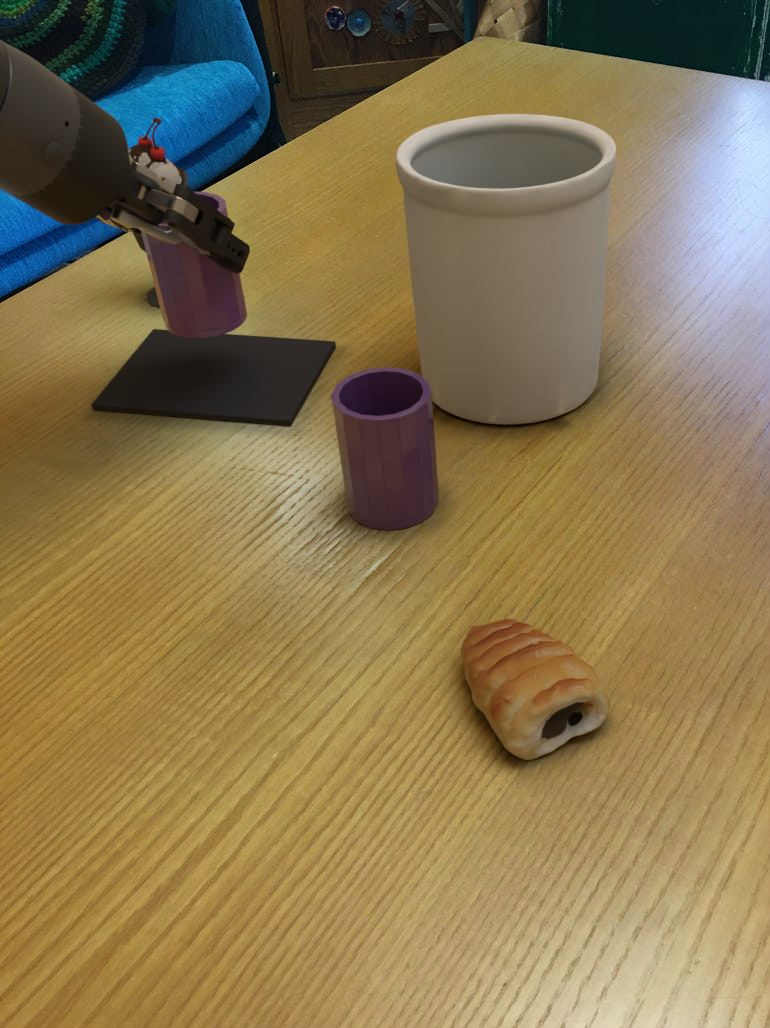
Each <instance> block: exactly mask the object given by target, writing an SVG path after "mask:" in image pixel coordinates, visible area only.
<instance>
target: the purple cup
mask: <svg viewBox="0 0 770 1028" xmlns="http://www.w3.org/2000/svg"><path fill="white" fill-rule="evenodd" d="M194 192H195V193H196V194H197V195H199V196H200V197H201V198H203V199H204V200H205V201H207V202H208V203H209V204H210V205H212V206H213V207H214V208H216V209H217V210H218V211H220V212H221V213H222V214H223V215H225V216H226V217H228V218H230V215H229V211H228V206H227V201H226V199H224V198H223V197H221V196H220V195H218V194H215V193H211V192H208V191H194ZM157 227H158V228H159V229H161V230H163V231H166V230H167V228H168V225H167V223H165V222H164V221H162V222H161V223H160V224H159V225H158V226H157ZM141 234H142V238H143V242H144V246H145V249H146V252H145V253H146V257H147V262H148V266H149V269H150V274H151V278H152V281H153V285H154V287H155V289H156V293H157V297H158V301H159V305H160V307H159V308H160V313H161V317H162V320H163V322H164V326H165V328H166V330H168V331H169V332H170V333H172V334H174V335H176V336H179V337H183V338H191V339H202V338H210V337H215V336H220V335H223V334H229V333H230V332H233V331H235V330H236V329H238V328H239V327H241V325H243V324H244V323H245V322H246V320H247V318H248V312H247V311H248V310H247V306H246V299H245V294H244V288H243V283H242V279H241V273H239V274H238V273H234V272H231V271H229V270H227V269H226V268H224V267H223V266H221V265H220V264H218V263H217V262H215V261H213V260H212V259H210V258H209V257H207V256H206V255H204V256H203V255H201V254H199V253H197V252H198V251H196V250H194V249H192V248H190V247H188V246H186V245H184V244H182V243H180V242H179V243H178V244H167V243H165V242H163V241H161V240H159V239H157V238H155V237H153V236H151V235H149V234H147V233H145V232H143V231H141Z"/></svg>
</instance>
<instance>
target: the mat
mask: <svg viewBox="0 0 770 1028" xmlns="http://www.w3.org/2000/svg"><path fill="white" fill-rule="evenodd" d="M336 347H337V345H336V341H333V340H320V339H305V338H304V339H303V338H291V337H275V336H261V335H247V334H232V333H226V334H223V335H220V336H215V337H210V338H202V339H191V338H183V337H179V336H176V335H174V334H172V333H170V332H169V331H168V330H167V329H161V328H160V329H159V328H153V329H152V330H151V331H150V332H149V334H148V335H147V336H146V337H145V338H144V340H143V341H142V342H141V343H140V344H139V346H137V348H136V349H135V351H133V353H132V354H131V356H129V358H128V359H127V360H126V362H125V363H123V365H122V367H121V368H120V369H119V370H118V371H117V373H116V374H115V375H114V376H113V377H112V378H111V380H110V381H109V382H108V383H107V385H106V386H105V387H104V389H102V391H101V392H100V393H99V394H98V395H97V397H96V398H95V399H94V400H93V401H92V402H91V404H90V406H91V408H92V410H93V411H103V412H114V413H127V414H138V415H152V416H163V417H165V416H166V417H175V418H188V419H201V420H211V421H222V422H223V421H225V422H238V423H248V424H249V423H250V424H260V425H261V424H262V425H275V426H284V427H285V426H287V427H291V426H292V424H293V423H294V421H295V419H296V418H297V416H298V414H299V412H300V410H301V408H302V407H303V405H304V404H305V401H306V400H307V399H308V396H309V395H310V393H311V391H312V389H313V387H314V386H315V384H316V382H317V380H318V379H319V377H320V376H321V374H322V371H324V368H325V366H326V365H327V363H328V361H329V359H330V358H331V356H332V354H333V352H335V351H334V350H335V349H336Z"/></svg>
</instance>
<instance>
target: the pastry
mask: <svg viewBox="0 0 770 1028" xmlns="http://www.w3.org/2000/svg"><path fill="white" fill-rule="evenodd" d="M460 656H461V659H462V662H463V666H464V678H465V680H466V682H467V683H468V686H469V688H470V692H471V699H472V702H473V704H474V706H475V707H476V708H477V709H478V710H479V711H480V712H481V713H482V714H483V716H484V718H485V720H486V721H487V722H488V724H489V726H490V728H491V729H492V730H493V732H494V733H495V735H496V737H497V738H498V740H499V741H500V743H501V745H502V746H503V747H504V749H505V750H507V752H509V753H510V754H512V755H514V756H516V757H517V758H519V759H522V760H525V761H531V760H536V759H538V758H540V757H542V756H544V755H547V754H549V753H552V752H554V751H555V750H556V749H557V748H558V749H559V748H560V747H561V746H563V745H565V744H566V743H567V742H568V741H569V740H570V739H572V738H574V737H579V736H582V735H585V734H588V733H590V732H592V731H595V730H596V729H598V728H599V727H601V725H602V724H603V722H604V721H605V720H606V719H607V717H608V714H609V710H610V708H611V707H610V706H611V697H610V696H609V694H607V693H606V690H605V688H604V685H603V684H602V683H601V681H600V680H599V678H598V676H597V673H596V671H595V669H594V667H593V666H592V665H590V664H589V663H587V662H586V661H585V660H584V659H582V658H581V656H580V655H579V654H578V653H577V652H576V651H575V650H574V649H573V648H572V647H571V646H569V644H567V643H564V642H563V641H561V639H560V640H559V639H555V638H554V637H552V636H551V635H549V634H548V633H545V632H542V631H541V630H540V629H538V628H537V627H534V626H532V625H530V624H529V623H525V622H521V621H518V620H517V619H514V618H504V619H500V620H495V621H490V622H489V623H486V624H483V625H482V624H477V625H473V626H471V627H470V628H469V629H468V631H467V633H466V637H465V638H464V640H463V641H462V643H461V647H460Z"/></svg>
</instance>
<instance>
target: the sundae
mask: <svg viewBox="0 0 770 1028" xmlns="http://www.w3.org/2000/svg"><path fill="white" fill-rule="evenodd" d="M152 120H153V121H152V123H151V124H150V126H149V127H148V130H147V132H146V133H145V135H144V136H141V137H139V138H138V139H137V144H133V145H132V146H130V147H128V152H129V158H130V162H131V161H135V162H138V163H140V164H142V165H143V166H145V167H147V168H149V169H151V170H153V171H154V172H155V173H156V175H157V177H158V178H159V179H161V180H163V181H165V182H166V183H168V184H170V185H172V186H174V187H175V186H176V184H180V185H182V184H184V185H186V186H188V185H189V175H188V173H187V172H186V170H185V169H184V168H183V167H177V165H176V164H174V163H173V162H172V161H171V160H170V159H168V158H167V157H166V151H165V149H164V148H163V147H162V146H158V145H157V143H156V140H155V132H156V129H157V128H158V126H159V125H160V124H162V123H163V121H162V119H161V118H159V117H153V118H152ZM154 124H156V125H155V126H154ZM153 126H154V127H153ZM152 127H153V130H152V134H151V135H152V136H151V138H152V139H151V138H150V137H149V133H150V132H151V129H152ZM134 231H135V229H134ZM132 234H133V236H134V239H135V241H136V242H137V244H138V247H139V248H140V249H141V251H142V252H144V253H146V249H145V246H144V242H143V238H142V237H141V236H140V235H138V234H136V233H135V232H133V233H132ZM146 301H147V302H148V303H149V304H150V305H151V306H154V307H158V308H160V305H159V301H158V297H157V293H156V289H155V286H154V287H152V288H150V290H148V292H147V294H146Z"/></svg>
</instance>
